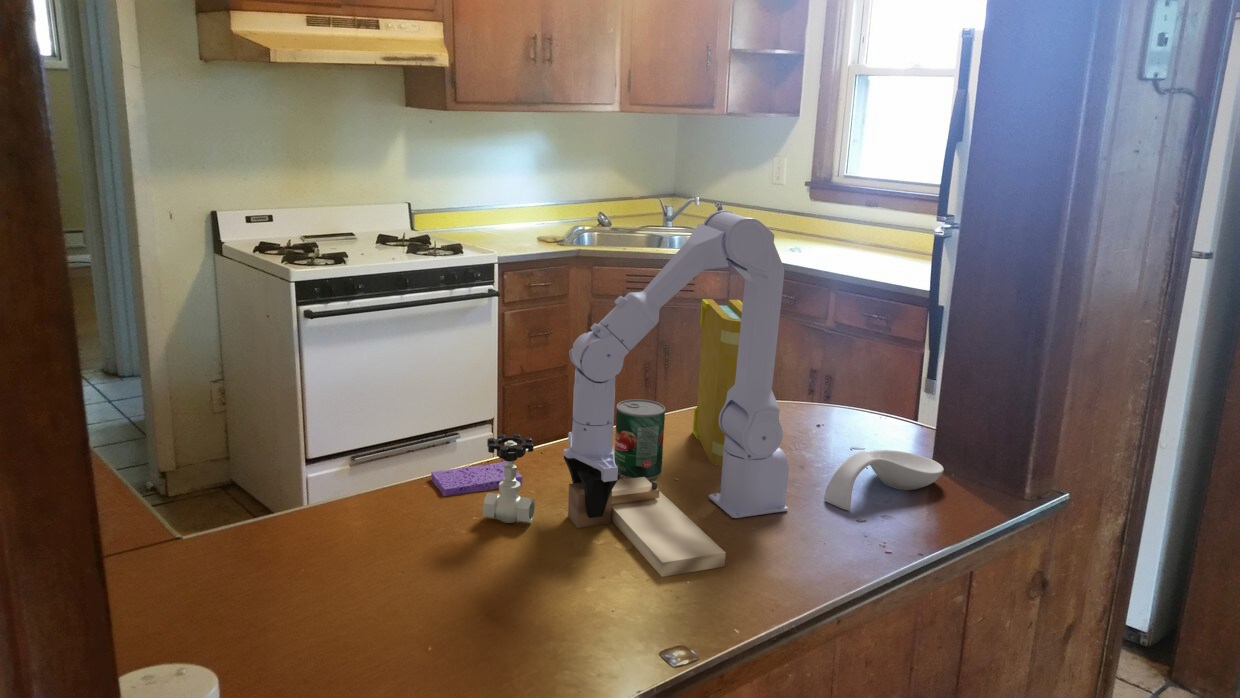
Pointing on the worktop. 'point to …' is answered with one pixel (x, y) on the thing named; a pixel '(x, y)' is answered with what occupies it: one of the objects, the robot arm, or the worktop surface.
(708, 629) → the worktop surface
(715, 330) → the book
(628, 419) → the canned tomato
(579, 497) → the mallet
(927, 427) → the worktop surface
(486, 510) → the valve
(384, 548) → the worktop surface
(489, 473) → the sponges
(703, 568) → the board
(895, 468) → the spoon rest
